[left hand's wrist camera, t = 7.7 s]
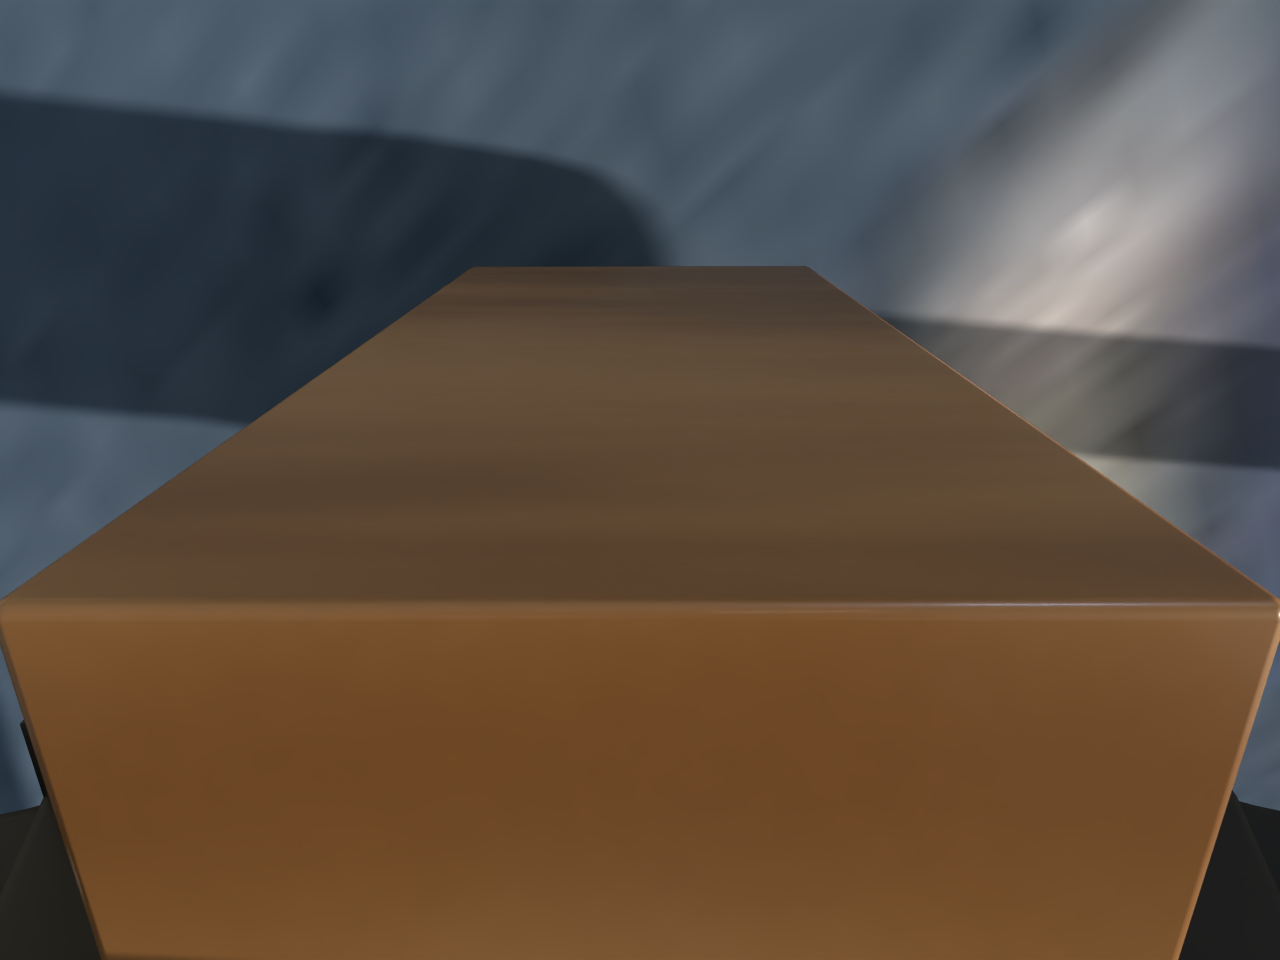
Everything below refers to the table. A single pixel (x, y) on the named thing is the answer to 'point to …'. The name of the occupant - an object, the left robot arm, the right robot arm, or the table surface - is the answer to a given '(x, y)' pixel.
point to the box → (639, 655)
